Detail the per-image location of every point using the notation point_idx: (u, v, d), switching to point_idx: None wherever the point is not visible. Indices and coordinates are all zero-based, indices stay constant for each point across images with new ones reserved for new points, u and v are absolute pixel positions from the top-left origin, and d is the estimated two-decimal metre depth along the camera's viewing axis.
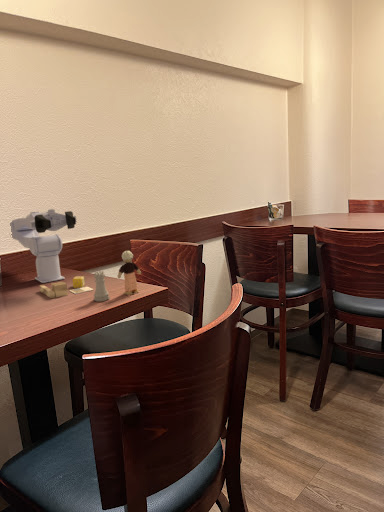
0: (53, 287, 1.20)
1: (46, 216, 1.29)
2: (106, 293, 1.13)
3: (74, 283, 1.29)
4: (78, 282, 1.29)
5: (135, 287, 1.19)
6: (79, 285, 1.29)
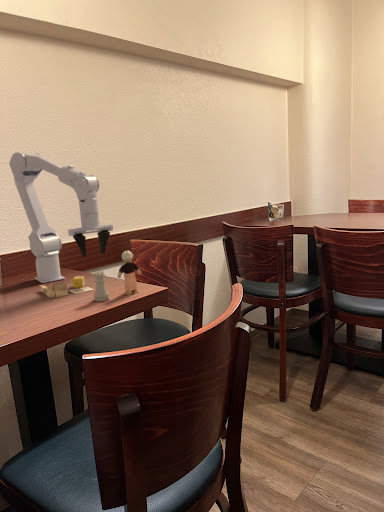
0: (53, 287, 1.20)
1: (87, 230, 1.28)
2: (106, 293, 1.13)
3: (74, 283, 1.29)
4: (78, 282, 1.29)
5: (135, 287, 1.19)
6: (79, 285, 1.29)
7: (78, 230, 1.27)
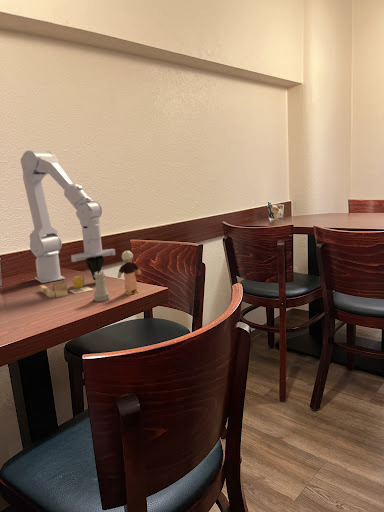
0: (53, 287, 1.20)
1: None
2: (106, 293, 1.13)
3: (74, 283, 1.29)
4: (78, 282, 1.29)
5: (135, 287, 1.19)
6: (79, 285, 1.29)
7: (81, 256, 1.29)
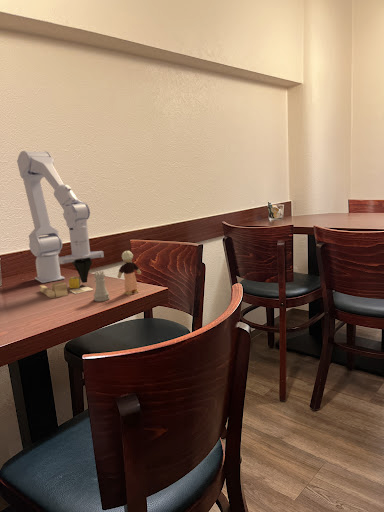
0: (53, 287, 1.20)
1: None
2: (106, 293, 1.13)
3: (70, 284, 1.28)
4: (74, 282, 1.28)
5: (135, 287, 1.19)
6: (76, 285, 1.28)
7: (68, 258, 1.26)
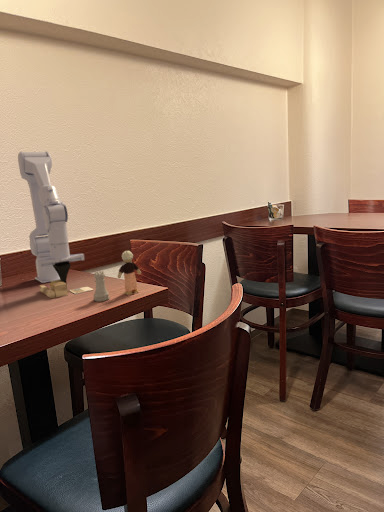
0: (53, 287, 1.20)
1: None
2: (106, 293, 1.13)
3: None
4: None
5: (135, 287, 1.19)
6: None
7: (46, 261, 1.22)
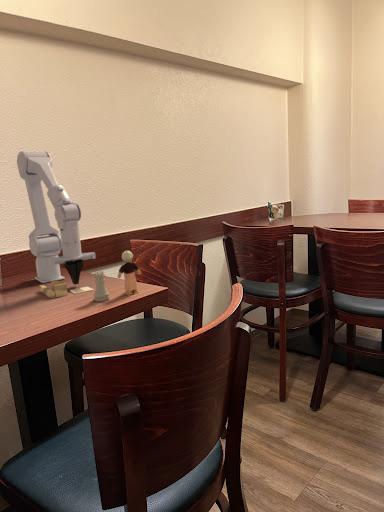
0: (53, 287, 1.20)
1: None
2: (106, 293, 1.13)
3: None
4: None
5: (135, 287, 1.19)
6: None
7: (59, 260, 1.25)
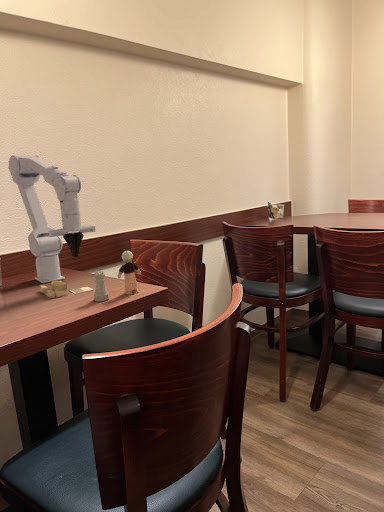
0: (53, 287, 1.20)
1: (68, 231, 1.26)
2: (106, 293, 1.13)
3: None
4: None
5: (135, 287, 1.19)
6: None
7: (59, 231, 1.24)
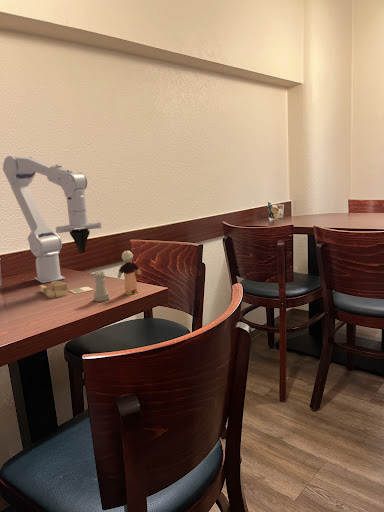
0: (53, 287, 1.20)
1: None
2: (106, 293, 1.13)
3: None
4: None
5: (135, 287, 1.19)
6: None
7: (66, 227, 1.27)
